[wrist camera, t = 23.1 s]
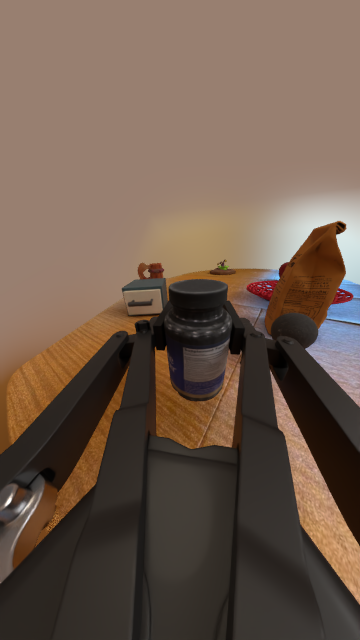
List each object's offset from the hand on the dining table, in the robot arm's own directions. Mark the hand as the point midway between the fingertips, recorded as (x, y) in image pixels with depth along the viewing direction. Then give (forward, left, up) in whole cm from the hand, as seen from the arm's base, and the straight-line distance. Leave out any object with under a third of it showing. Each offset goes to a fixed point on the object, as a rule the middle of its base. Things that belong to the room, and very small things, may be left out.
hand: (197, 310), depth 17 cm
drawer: (-28, +18, -11) cm, 35 cm away
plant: (-26, +113, -12) cm, 117 cm away
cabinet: (-30, +21, -12) cm, 39 cm away
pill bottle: (+2, -5, -7) cm, 8 cm away
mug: (-48, +44, -12) cm, 66 cm away
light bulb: (+12, +9, -12) cm, 20 cm away
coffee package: (+14, +24, -12) cm, 31 cm away
